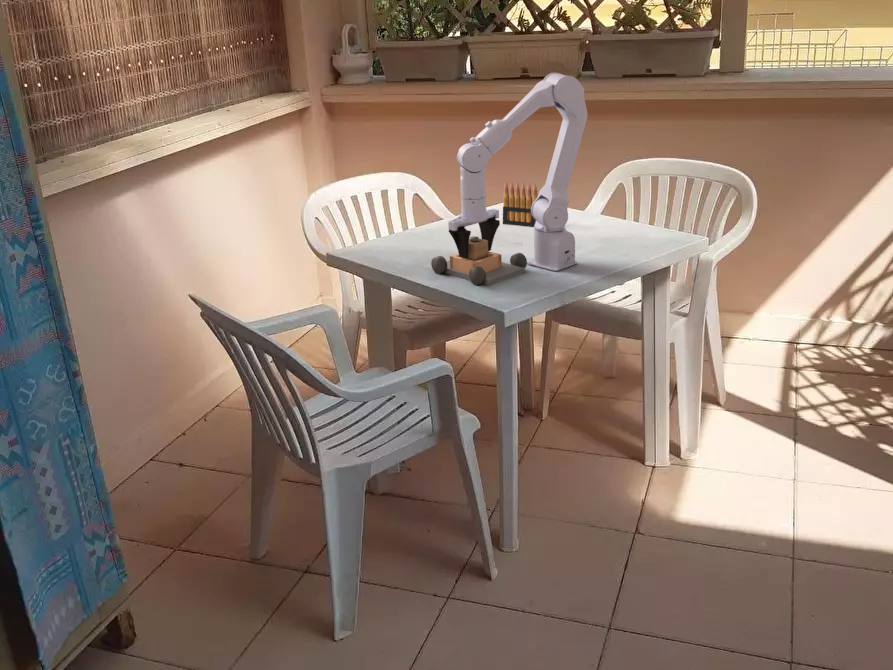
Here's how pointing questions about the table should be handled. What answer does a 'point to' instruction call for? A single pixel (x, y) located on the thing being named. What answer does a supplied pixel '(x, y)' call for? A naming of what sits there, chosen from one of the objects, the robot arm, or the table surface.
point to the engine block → (477, 249)
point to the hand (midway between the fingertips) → (475, 253)
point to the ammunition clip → (518, 205)
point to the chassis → (481, 267)
